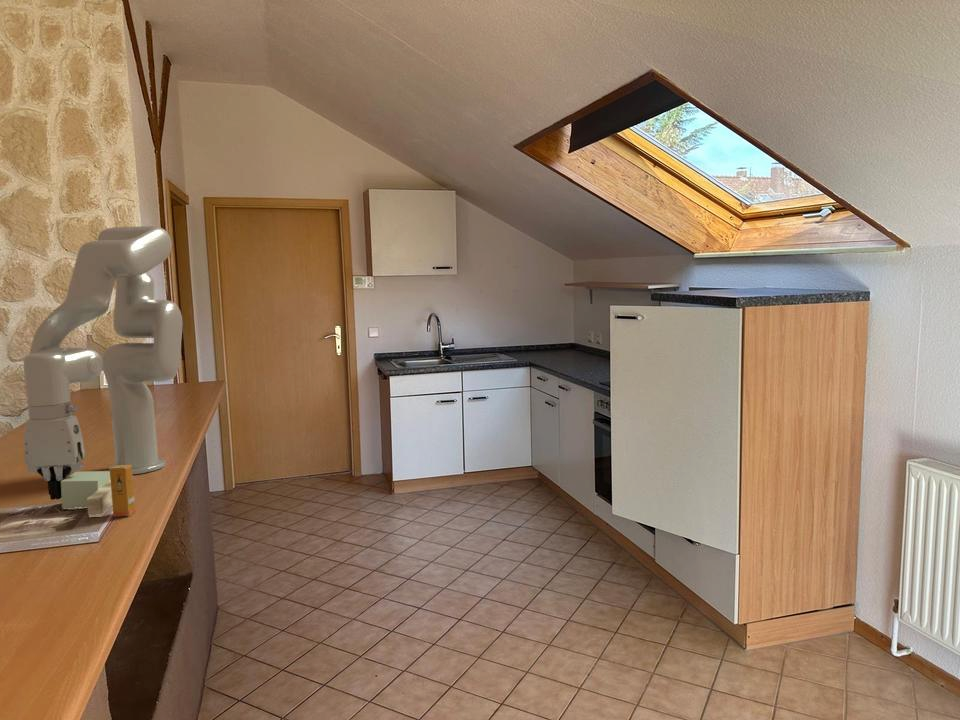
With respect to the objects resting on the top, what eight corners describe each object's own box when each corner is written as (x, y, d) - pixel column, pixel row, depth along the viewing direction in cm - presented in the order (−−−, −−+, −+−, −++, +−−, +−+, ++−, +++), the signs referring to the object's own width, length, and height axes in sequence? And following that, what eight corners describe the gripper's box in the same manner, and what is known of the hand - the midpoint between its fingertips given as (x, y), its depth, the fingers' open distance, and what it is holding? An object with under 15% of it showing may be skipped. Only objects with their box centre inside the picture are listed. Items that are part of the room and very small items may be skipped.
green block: (76, 498, 146) (75, 471, 145) (111, 497, 147) (110, 471, 146) (62, 509, 139) (60, 481, 138) (98, 508, 140) (97, 480, 139)
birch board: (121, 490, 152) (120, 472, 152) (133, 489, 153) (132, 472, 152) (88, 518, 134) (86, 498, 134) (101, 517, 135) (100, 497, 134)
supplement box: (137, 510, 138) (133, 463, 137) (129, 516, 135) (125, 468, 134) (120, 511, 138) (116, 464, 137) (112, 517, 135) (107, 468, 133)
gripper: (96, 407, 144) (103, 490, 146) (22, 409, 143) (30, 493, 145) (79, 414, 137) (87, 501, 139) (1, 417, 135) (10, 505, 137)
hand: (58, 497), depth 142 cm, fingers closed
